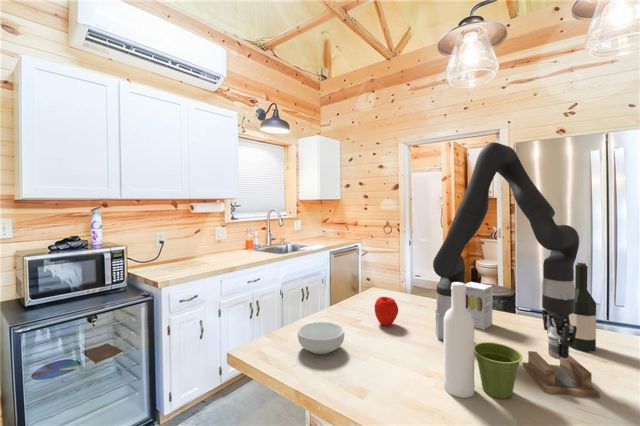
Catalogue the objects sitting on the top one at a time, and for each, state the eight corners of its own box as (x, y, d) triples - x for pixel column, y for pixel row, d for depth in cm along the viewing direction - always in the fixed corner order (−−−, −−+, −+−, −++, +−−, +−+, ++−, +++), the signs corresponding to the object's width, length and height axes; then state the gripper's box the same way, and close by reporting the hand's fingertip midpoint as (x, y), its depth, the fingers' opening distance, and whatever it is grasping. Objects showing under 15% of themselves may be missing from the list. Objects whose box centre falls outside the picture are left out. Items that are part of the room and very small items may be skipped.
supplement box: (461, 323, 133) (460, 285, 133) (469, 318, 140) (469, 281, 139) (484, 330, 126) (484, 289, 126) (493, 324, 133) (493, 285, 132)
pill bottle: (564, 353, 92) (564, 326, 92) (571, 361, 87) (571, 332, 87) (545, 351, 93) (545, 324, 93) (551, 359, 89) (551, 330, 89)
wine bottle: (602, 353, 106) (603, 265, 105) (574, 351, 108) (575, 265, 107) (586, 342, 114) (587, 261, 113) (560, 340, 116) (561, 260, 115)
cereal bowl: (351, 343, 117) (350, 325, 116) (334, 364, 102) (333, 343, 101) (310, 336, 124) (310, 318, 124) (289, 355, 109) (288, 335, 108)
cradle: (544, 392, 85) (544, 372, 85) (522, 365, 99) (522, 348, 99) (599, 397, 82) (599, 377, 82) (569, 369, 96) (569, 352, 96)
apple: (401, 322, 136) (400, 295, 135) (393, 330, 127) (393, 301, 127) (379, 318, 141) (379, 292, 141) (371, 326, 133) (370, 297, 132)
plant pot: (466, 378, 92) (466, 341, 92) (508, 380, 91) (508, 342, 91) (483, 404, 81) (483, 361, 80) (531, 406, 79) (532, 363, 79)
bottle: (438, 382, 91) (438, 280, 90) (464, 380, 91) (464, 279, 90) (452, 399, 83) (452, 288, 82) (480, 397, 83) (480, 286, 82)
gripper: (532, 287, 98) (532, 340, 98) (556, 301, 84) (556, 363, 84) (559, 288, 96) (559, 342, 97) (588, 302, 82) (588, 366, 83)
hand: (558, 351), depth 90 cm, fingers closed on pill bottle, 4 cm apart
